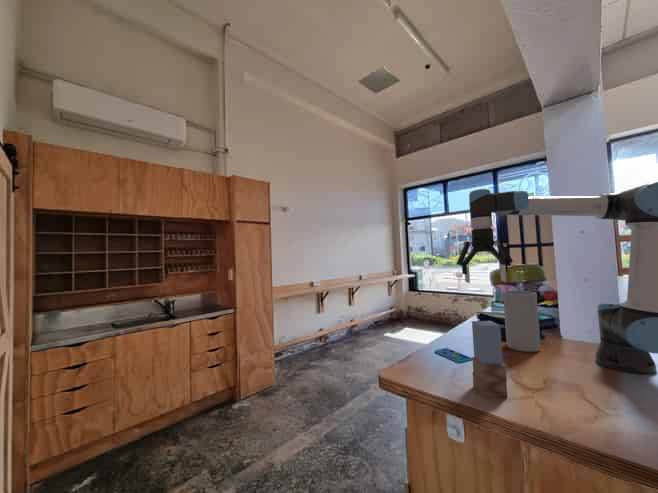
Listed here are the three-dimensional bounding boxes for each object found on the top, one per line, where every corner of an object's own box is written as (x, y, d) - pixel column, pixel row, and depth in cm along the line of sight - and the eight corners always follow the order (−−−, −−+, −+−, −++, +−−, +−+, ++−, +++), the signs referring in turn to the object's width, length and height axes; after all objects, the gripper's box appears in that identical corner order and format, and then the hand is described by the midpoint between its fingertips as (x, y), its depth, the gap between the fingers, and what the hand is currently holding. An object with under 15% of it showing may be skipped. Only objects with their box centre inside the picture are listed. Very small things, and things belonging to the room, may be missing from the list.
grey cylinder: (500, 343, 129) (497, 291, 130) (527, 342, 128) (523, 290, 129) (518, 353, 116) (514, 295, 117) (548, 352, 116) (543, 293, 117)
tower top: (495, 372, 90) (494, 356, 90) (506, 381, 83) (505, 365, 83) (473, 372, 90) (472, 357, 91) (482, 382, 83) (481, 365, 84)
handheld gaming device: (446, 347, 126) (473, 357, 112) (446, 349, 126) (474, 360, 112) (432, 350, 123) (458, 361, 109) (432, 352, 123) (459, 364, 109)
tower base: (495, 386, 90) (494, 371, 90) (507, 398, 83) (506, 381, 83) (473, 387, 90) (472, 372, 90) (483, 398, 83) (482, 381, 84)
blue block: (493, 357, 90) (490, 320, 90) (502, 364, 84) (500, 325, 84) (474, 357, 90) (471, 321, 91) (482, 364, 84) (480, 326, 85)
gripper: (509, 227, 111) (513, 279, 110) (446, 231, 113) (449, 282, 112) (520, 225, 103) (524, 281, 102) (452, 229, 105) (456, 284, 105)
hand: (485, 281), depth 107 cm, fingers open, 13 cm apart
